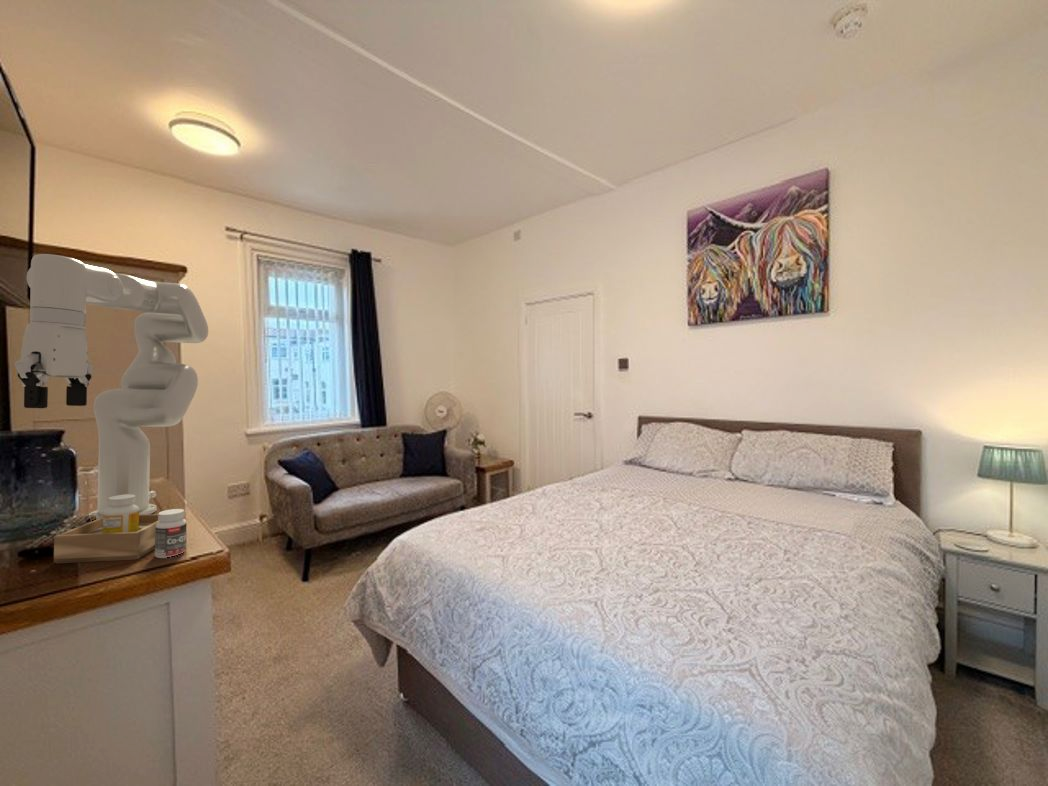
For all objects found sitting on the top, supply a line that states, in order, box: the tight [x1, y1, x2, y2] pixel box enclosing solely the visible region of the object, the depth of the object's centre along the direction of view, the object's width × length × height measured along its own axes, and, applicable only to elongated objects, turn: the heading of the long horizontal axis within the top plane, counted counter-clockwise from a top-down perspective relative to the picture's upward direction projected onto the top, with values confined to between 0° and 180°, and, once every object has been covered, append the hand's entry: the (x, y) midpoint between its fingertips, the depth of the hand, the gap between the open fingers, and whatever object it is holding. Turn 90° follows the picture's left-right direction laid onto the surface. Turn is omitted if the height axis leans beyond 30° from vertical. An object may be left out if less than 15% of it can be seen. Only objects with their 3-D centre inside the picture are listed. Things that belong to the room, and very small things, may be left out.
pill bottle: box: [154, 508, 187, 559], centre depth 85 cm, size 5×5×8 cm
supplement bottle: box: [103, 494, 139, 533], centre depth 87 cm, size 5×5×10 cm
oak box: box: [53, 513, 160, 564], centre depth 87 cm, size 13×13×5 cm
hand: (57, 406), depth 86 cm, fingers open, 9 cm apart
